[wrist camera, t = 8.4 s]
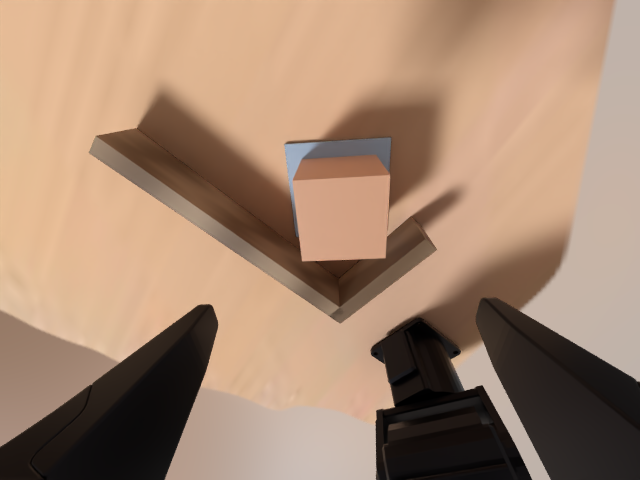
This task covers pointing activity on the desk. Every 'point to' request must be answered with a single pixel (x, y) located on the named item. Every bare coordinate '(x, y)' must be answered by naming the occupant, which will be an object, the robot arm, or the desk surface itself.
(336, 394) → the desk surface
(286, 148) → the pad
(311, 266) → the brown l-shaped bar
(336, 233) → the cube
